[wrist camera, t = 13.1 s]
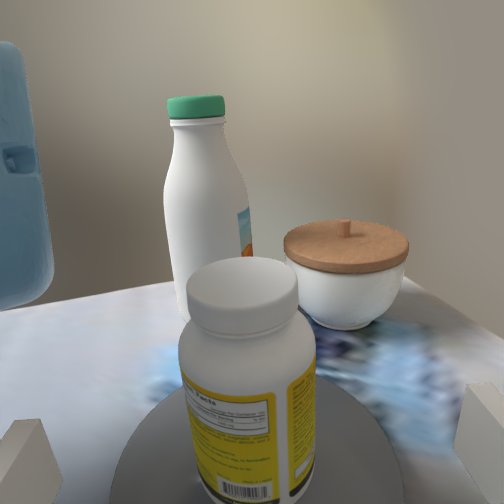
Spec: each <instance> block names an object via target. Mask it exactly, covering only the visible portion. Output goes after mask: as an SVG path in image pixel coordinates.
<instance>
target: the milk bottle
mask: <svg viewBox="0 0 504 504" xmlns="http://www.w3.org/2000/svg"><path fill="white" fill-rule="evenodd" d="M167 107H168V114H169V117H170V119H171V120H170V123H171V124H170V126H171V127H172V128H173V130H174V148H173V155H172V160H171V164H170V167H169V170H168V173H167V177H166V181H165V186H164V212H165V221H166V229H167V236H168V243H169V250H170V257H171V263H172V269H173V276H174V283H175V289H176V295H177V302H178V307H179V312H180V315H181V317H182V318H183V320H184V321H185V322H186V323H188V322H189V320H190V319H191V317H190V314H189V312H188V305H187V295H186V284H187V281H188V279H189V278H190V276H191V275H192V274H193V273H194V272H196V271H197V270H198V269H200V268H202V267H204V266H206V265H208V264H211V263H214V262H217V261H220V260H225V259H230V258H237V257H253V251H252V236H251V222H250V210H249V201H248V194H247V189H246V186H245V183H244V180H243V177H242V175H241V173H240V170H239V168H238V167H237V165H236V163H235V161H234V159H233V157H232V155H231V153H230V150H229V148H228V145H227V142H226V139H225V135H224V130H223V129H224V128H223V126H224V123H226V121H225V117H224V116H223V115H225V104H224V99H223V97H222V96H220V95H205V96H187V97H176V98H170V99H168V101H167Z"/></svg>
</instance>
